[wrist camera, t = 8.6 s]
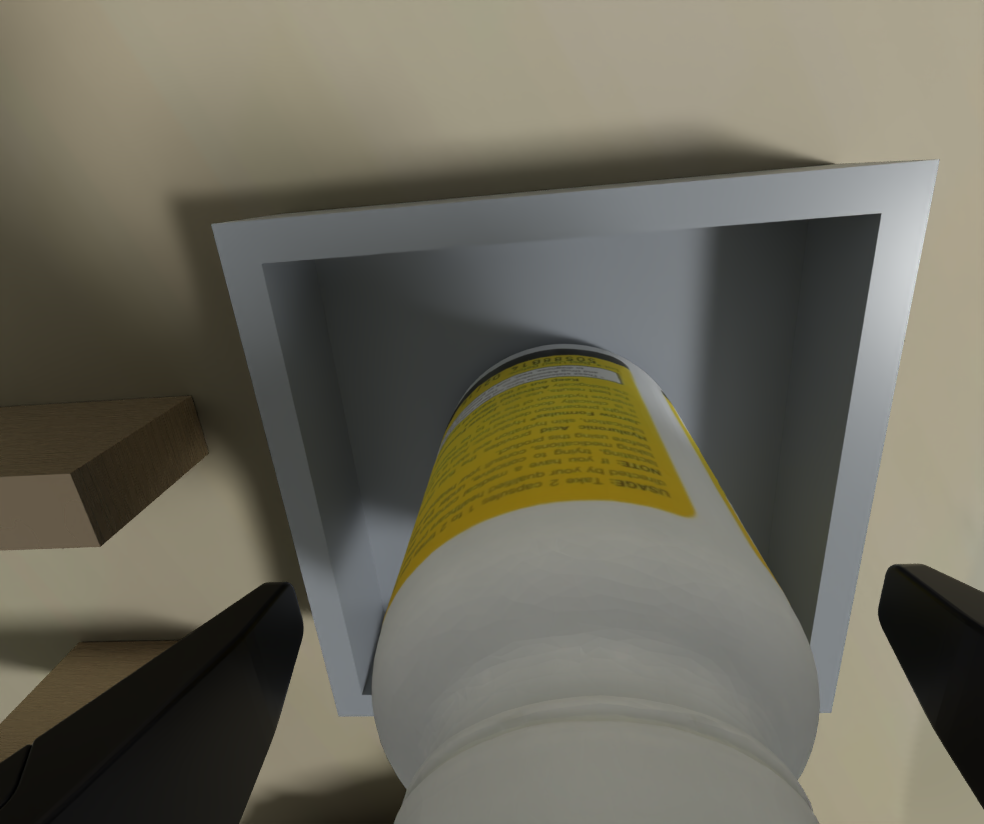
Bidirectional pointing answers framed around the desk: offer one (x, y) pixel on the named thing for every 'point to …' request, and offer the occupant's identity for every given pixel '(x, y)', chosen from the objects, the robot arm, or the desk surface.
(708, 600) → the supplement bottle
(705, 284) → the tray
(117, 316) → the desk surface
